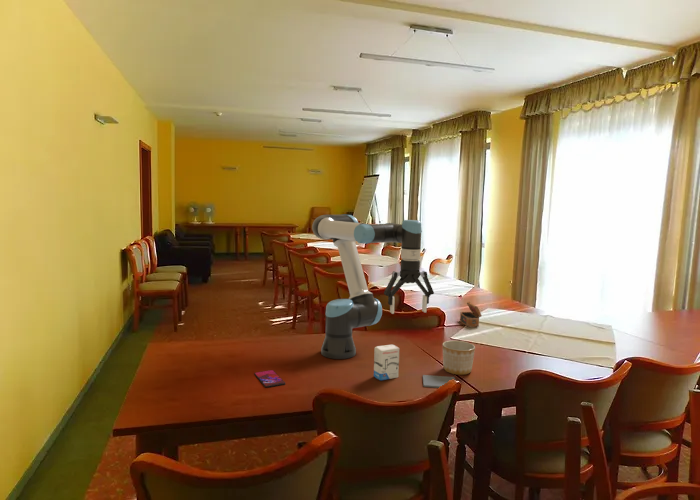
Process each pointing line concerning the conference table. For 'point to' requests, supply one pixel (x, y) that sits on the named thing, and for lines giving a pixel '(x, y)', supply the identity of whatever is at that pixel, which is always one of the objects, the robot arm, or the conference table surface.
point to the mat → (435, 380)
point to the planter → (458, 357)
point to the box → (470, 316)
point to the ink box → (386, 362)
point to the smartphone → (269, 379)
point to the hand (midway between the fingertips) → (408, 312)
